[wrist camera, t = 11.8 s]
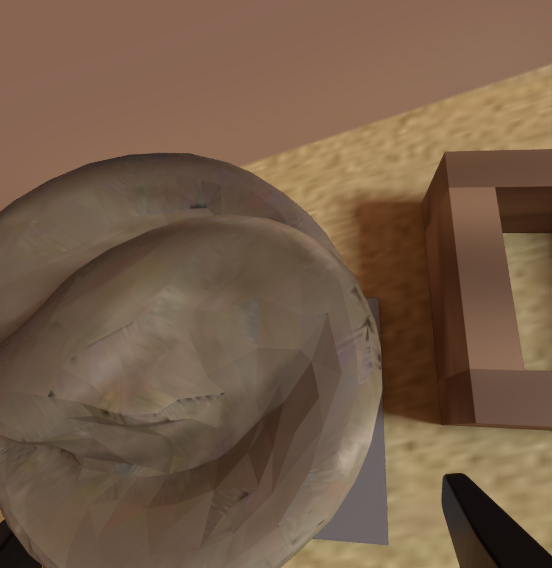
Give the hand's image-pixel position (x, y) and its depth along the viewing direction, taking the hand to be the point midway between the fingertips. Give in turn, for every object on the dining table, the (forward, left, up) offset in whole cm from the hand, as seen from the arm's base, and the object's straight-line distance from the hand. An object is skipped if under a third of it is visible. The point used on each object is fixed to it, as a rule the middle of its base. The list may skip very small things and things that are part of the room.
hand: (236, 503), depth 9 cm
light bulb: (+3, 0, -9) cm, 9 cm away
